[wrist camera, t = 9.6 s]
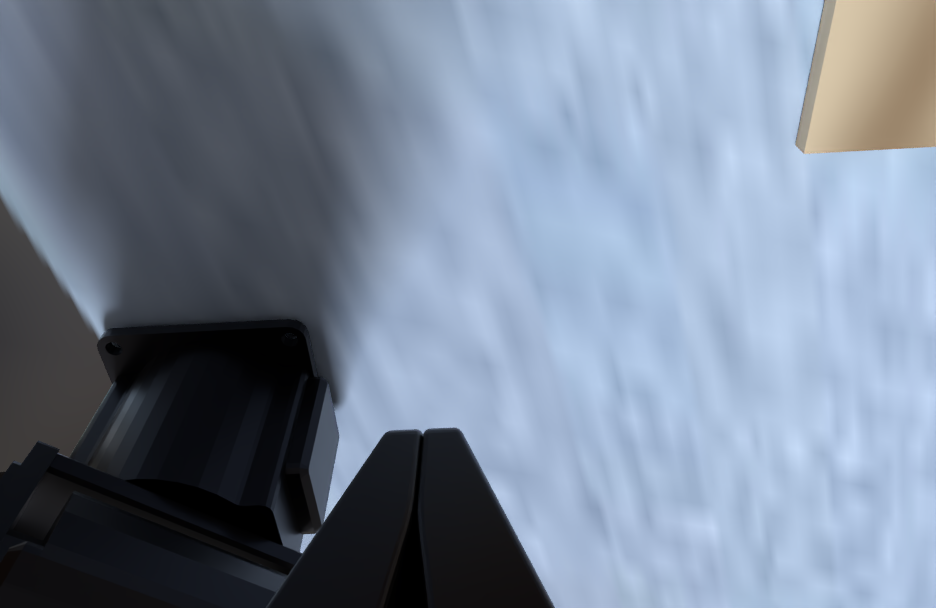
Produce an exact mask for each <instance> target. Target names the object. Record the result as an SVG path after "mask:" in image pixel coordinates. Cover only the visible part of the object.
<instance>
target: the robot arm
mask: <svg viewBox="0 0 936 608" xmlns="http://www.w3.org/2000/svg"><path fill="white" fill-rule="evenodd" d="M287 333H290V334H294V335H295V336H297V338H296V339H291V338H288V337H287V336H286V335H285V334H287ZM111 342H113V343H117V344H118V345H120V346H121V348H120V347H116V346H114V345H113V344H112V343H111ZM97 347H98V351H99V354H100V356H101V358H102V361H103V363H104V365H105V368H106V370H107V373H108V375H109V377H110V380H111V382H112V386H111V388H110V389H109V391H108V393H107V395H106V396H105V398H104V400H103V401H102V403H101V405H100V406H99V408H98V410H97V411H96V413H95V415H94V417H93V418H92V420H91V422H90V423H89V425H88V427H87V428H86V430H85V432H84V434H83V435H82V437H81V438H80V440H79V442H78V444H77V445H76V447H75V448H74V450H73V452H72V453H71V455H70V457H67V456H64V455H62V454H59V453H58V452H59V449H58V448H55V447H53V446H50V445H48V444H46V443H43V442H41V441H38V442H37V443H36V445H35V446H34V447H33V449H32V450H31V452H30V453H29V454H28V456H27V457H26V459H25V460H24V462H23V463H19V462H16V461H13V463H12V464H11V465H10V467H9V468H8V469H7V471H6V472H0V608H555V607H554V605H553V603H552V601H551V599H550V598H549V596H548V594H547V592H546V590H545V588H544V586H543V584H542V582H541V580H540V579H539V577H538V575H537V573H536V571H535V569H534V567H533V565H532V563H531V562H530V560H529V558H528V556H527V554H526V552H525V550H524V548H523V546H522V545H521V543H520V541H519V539H518V537H517V535H516V533H515V531H514V529H513V528H512V526H511V524H510V522H509V520H508V518H507V516H506V514H505V512H504V510H503V509H502V507H501V505H500V503H499V501H498V499H497V497H496V495H495V493H494V492H493V490H492V488H491V486H490V484H489V482H488V480H487V478H486V476H485V475H484V473H483V471H482V469H481V467H480V465H479V463H478V461H477V459H476V458H475V456H474V454H473V452H472V450H471V448H470V446H469V444H468V442H467V440H466V439H465V437H464V435H463V433H462V432H461V431H460V429H458V428H435V429H427V430H426V431H425V432H424V434H422V432H421V431H420V430H417V429H414V430H393V431H388V432H387V433H385V434H384V435H383V437H382V438H381V439H380V441H379V442H378V444H377V445H376V447H375V448H374V450H373V451H372V453H371V454H370V456H369V457H368V459H367V460H366V461H365V463H364V464H363V466H362V467H361V469H360V470H359V472H358V473H357V475H356V476H355V478H354V479H353V480H352V482H351V483H350V485H349V486H348V488H347V489H346V491H345V492H344V494H343V495H342V497H341V498H340V500H339V501H338V502H337V504H336V505H335V507H334V508H333V510H332V511H331V513H330V514H329V516H328V517H327V519H326V520H325V522H324V517H325V511H326V506H327V501H328V495H329V490H330V484H331V479H332V473H333V468H334V463H335V457H336V452H337V446H338V441H339V432H338V427H337V422H336V417H335V412H334V407H333V402H332V398H331V393H330V388H329V383H328V382H327V381H326V380H325V379H324V378H323V377H318V375H317V371H316V366H315V361H314V357H313V352H312V347H311V343H310V338H309V333H308V330H307V328H306V326H305V325H303V324H302V323H301V322H299V321H297V320H291V319H286V320H266V321H247V322H228V323H208V324H189V325H169V326H150V327H130V328H113V329H109V330H107V331H106V332H104V333H103V335H102V336H101V338H100V339H99V342H98V344H97ZM323 522H324V523H323ZM315 533H316V535H315V536H314V538H313V539H312V541H311V542H310V543H309V545H308V546H307V548H306V549H305V551H304V552H303V553H300V548H301V543H302V539H303V534H315Z"/></svg>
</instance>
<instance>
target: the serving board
mask: <svg viewBox="0 0 936 608" xmlns="http://www.w3.org/2000/svg"><path fill="white" fill-rule="evenodd" d="M795 145H796V146H797V147H798V148H799V149H800V150H801V151H802V152H803V153H804V154H810V153H829V152H847V151H865V150H883V149H902V148H920V147H936V0H825V2H824V7H823V12H822V17H821V22H820V27H819V32H818V37H817V42H816V46H815V51H814V56H813V61H812V66H811V71H810V76H809V81H808V86H807V91H806V95H805V100H804V105H803V110H802V115H801V120H800V125H799V130H798V135H797V140H796V144H795Z"/></svg>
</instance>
